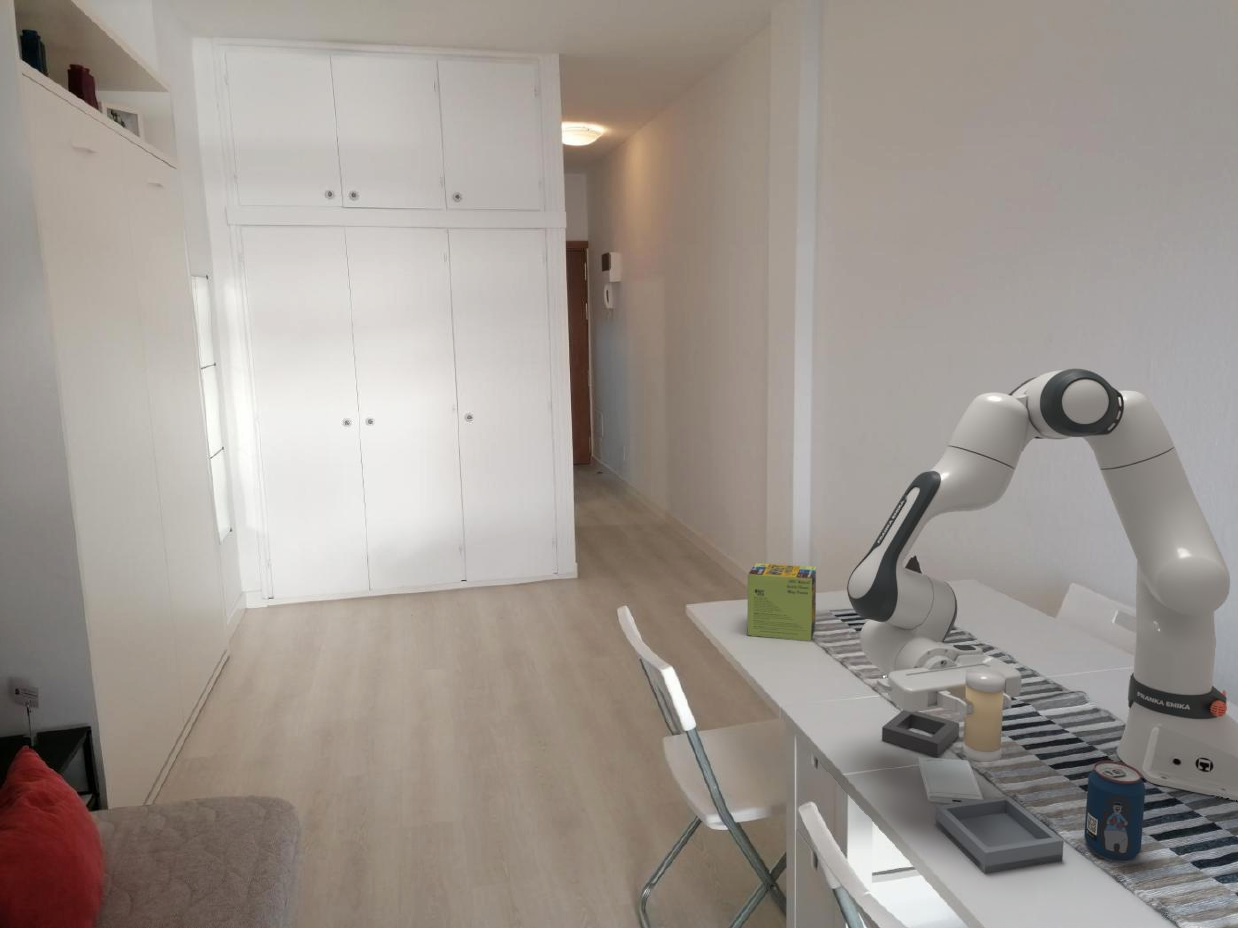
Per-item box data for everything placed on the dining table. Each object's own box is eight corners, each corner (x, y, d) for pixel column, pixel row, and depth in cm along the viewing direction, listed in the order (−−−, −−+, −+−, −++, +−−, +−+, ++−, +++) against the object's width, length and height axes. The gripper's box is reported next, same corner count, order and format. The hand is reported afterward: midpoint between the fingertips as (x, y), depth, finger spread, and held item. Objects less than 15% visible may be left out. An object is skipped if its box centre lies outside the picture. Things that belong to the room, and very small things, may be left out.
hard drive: (918, 756, 148) (929, 794, 136) (969, 760, 146) (985, 798, 134) (917, 765, 148) (928, 804, 136) (969, 769, 147) (984, 808, 135)
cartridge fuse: (996, 745, 129) (1000, 668, 127) (1005, 763, 124) (1009, 682, 122) (958, 743, 130) (962, 666, 128) (966, 760, 125) (970, 680, 123)
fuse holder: (958, 736, 157) (959, 722, 157) (937, 757, 150) (937, 743, 149) (905, 720, 164) (905, 708, 163) (881, 740, 156) (882, 727, 156)
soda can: (1116, 833, 127) (1122, 756, 125) (1152, 862, 120) (1158, 780, 118) (1072, 838, 126) (1077, 760, 124) (1106, 867, 119) (1112, 785, 117)
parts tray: (1007, 813, 132) (1008, 795, 132) (1062, 860, 121) (1063, 840, 120) (935, 824, 130) (936, 805, 129) (984, 873, 118) (985, 852, 118)
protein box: (812, 641, 205) (812, 578, 203) (746, 636, 210) (746, 573, 208) (816, 627, 215) (817, 566, 213) (753, 622, 220) (754, 562, 217)
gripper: (871, 659, 135) (925, 695, 121) (985, 644, 140) (1048, 677, 127) (870, 697, 136) (923, 737, 122) (983, 681, 141) (1046, 717, 128)
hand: (988, 706), depth 125 cm, fingers closed on cartridge fuse, 5 cm apart
